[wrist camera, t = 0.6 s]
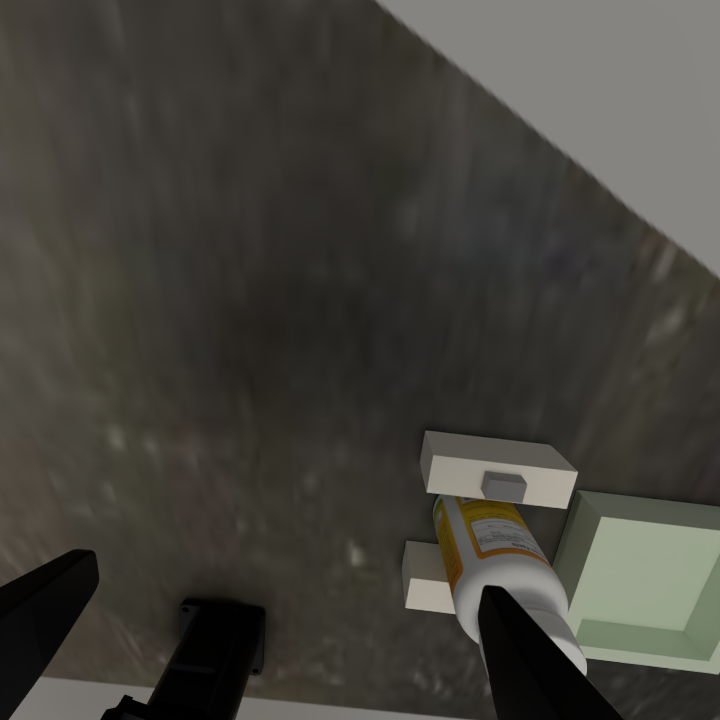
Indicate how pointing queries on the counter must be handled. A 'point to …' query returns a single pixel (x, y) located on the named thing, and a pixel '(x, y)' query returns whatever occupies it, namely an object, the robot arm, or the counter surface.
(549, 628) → the supplement bottle
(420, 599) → the pair of white blocks
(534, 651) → the robot arm
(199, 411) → the counter surface
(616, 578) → the tray
